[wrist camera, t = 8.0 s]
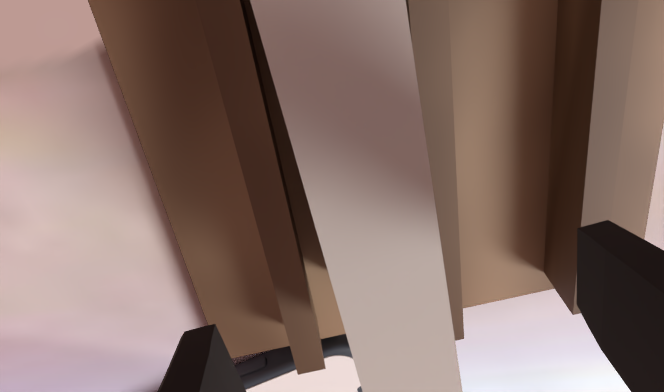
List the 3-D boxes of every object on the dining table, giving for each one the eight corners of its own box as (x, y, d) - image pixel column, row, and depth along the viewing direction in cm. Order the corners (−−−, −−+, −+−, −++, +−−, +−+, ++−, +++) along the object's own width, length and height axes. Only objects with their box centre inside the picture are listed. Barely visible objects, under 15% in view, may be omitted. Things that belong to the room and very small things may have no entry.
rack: (711, -295, 15) (814, -318, 13) (628, 257, 25) (675, 311, 22) (33, -172, 15) (-10, -169, 12) (221, 345, 24) (220, 411, 22)
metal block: (335, -96, 16) (399, -41, 10) (403, 255, 22) (465, 414, 16) (242, -72, 16) (250, -2, 10) (337, 273, 22) (376, 438, 16)
